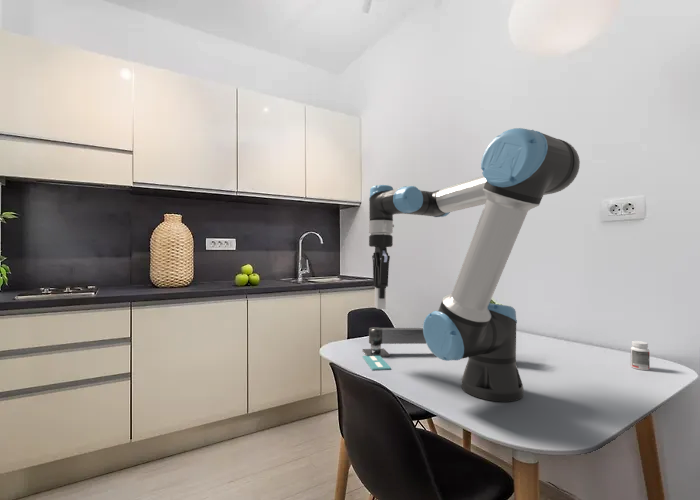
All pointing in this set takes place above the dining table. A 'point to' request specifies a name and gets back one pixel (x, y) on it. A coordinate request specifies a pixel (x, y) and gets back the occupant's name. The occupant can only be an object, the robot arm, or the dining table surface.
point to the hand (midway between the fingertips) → (379, 307)
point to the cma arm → (396, 336)
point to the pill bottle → (640, 355)
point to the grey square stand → (376, 351)
